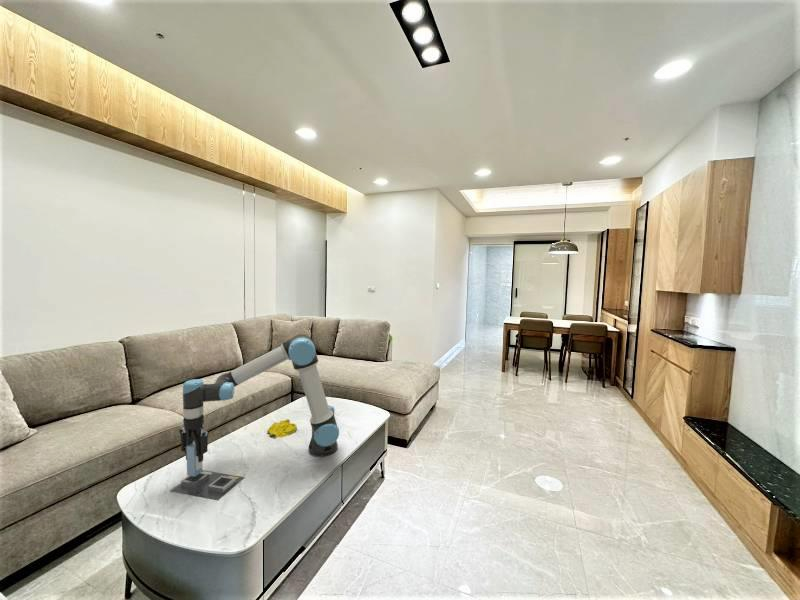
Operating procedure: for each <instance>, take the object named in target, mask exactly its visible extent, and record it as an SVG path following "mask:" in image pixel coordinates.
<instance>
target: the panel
mask: <svg viewBox="0 0 800 600" xmlns="http://www.w3.org/2000/svg"><path fill="white" fill-rule="evenodd" d="M245 478H246V477H245V476H241V475H240V476H239V475H232V474H229V473H228V474H227V473H223V472H217V471H216V472H215V471H209V470H204V469H202V472H201V473H199V474H198V475H197V476H195V477H193V476H188V475H187V476H186V477H185V478H182V479H181V480H180V484H178V485H176V486H175V487H173V488H172V489H170V492H171V493H177V494H182V495H187V496H191V497H192V496H193V497H198V498H203V499H208V500H212V501H219V500H220V499H222V498H223V497H224V496H225V495H226V494H228V493H229V492H230V491H231V490H232V489H233V488H234V487H236V486H237V485H238V484H239V483H241V481H244V479H245Z"/></svg>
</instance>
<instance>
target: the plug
mask: <svg viewBox="0 0 800 600" xmlns="http://www.w3.org/2000/svg"><path fill="white" fill-rule="evenodd" d="M186 448H187V460H186V474H187V476H193V477H195V476H197V475H198V474H199V473H201V472H202V470H203V467H202V468H200V469H199V470H196V455H197V450H196V445H195V441H193V443H192V444H190V445H188V446H186Z"/></svg>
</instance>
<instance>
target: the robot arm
mask: <svg viewBox="0 0 800 600" xmlns="http://www.w3.org/2000/svg"><path fill="white" fill-rule="evenodd" d="M318 358H319V357H318V355H317V351H316V346H315V344H314V341H313V339H312V338H311V337H310V336H309V335H307V334H296V335H294V336H293V337H291V338H289V339H287V340H285V341H284V342H282V343H281V344H280V345H279V346H278V347H276V348H274V349H272V350H271V351H268V352H266V353H265V354H262V355H261V356H258V357H256V358H255V359H253V360H250V361H249V362H247V363H244V364H242V365H241V366H238V367H236V368H234V369H233V370H231V371H228V372H224V373H221V374H220V375H219V376H218V377H217V378H216V380H215V382H214V383H205V382H204V381H203V380H202V379H197V378H196V379H195V378H194V379H189V380H187V381H185V382H184V383H182V385H183V386H182V407H183V409H182V415H183V423H182V424H183V427H182V428H180V429H179V430H178V431H179V435H180V451H181V452H183V453H184V454H185V460H186V461H187V448H186V446H188V445H190V444H192V443H193V442H195V445H196V450H197V455H196V470H199V469H200V468H202V469H203V461H204V454H205V453H207V452H208V448H209V447H208V441H209V440H208V439H209V437H208V435H209V433H210V430H205V429H204V423H205V420H204V419H205V415H204V412H205V410H204V403H206V402H217V401H218V402H219V401H222V402H223V401H228V400H232V399H233V398H234V396H235V387H236V386H239V385H241V384H243V383H244V382H247V381H248V380H250V379H253V378H254V377H256V376H257V375H260V374H263V373H264V372H266V371H267V370H270V369H272V368H274V367H276V366H278V365H280V364H281V363H283V362H285V361H287V360H289V361H291V363H292V366H293V369H294V371H297V372H298V374H299V378H300V381H301V384H302V388H303V391H304V395H305V398H306V402H307V404H308V407H309V411H310V414H311V417H310V419H309V423H310V426H311V438H310V441H309V444H308V453H309V454H310V455H312V456H314V457H326V456H330V455H333V454H334V453H335V452H337V450H338V448H339V447H338V441H337V440H338V439H339V436H340V429H339V427H338V423H337V420H336V416H335V407H334V406H332V405H329V404H328V401H327V397H326V395H325V390H324V386H323V384H322V380H321V377H320V376H321V375H320V374H319V371H318V366H317V364H318V363H319V359H318Z"/></svg>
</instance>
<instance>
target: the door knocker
mask: <svg viewBox="0 0 800 600" xmlns="http://www.w3.org/2000/svg"><path fill="white" fill-rule="evenodd" d="M296 430H297V424H296V423H291V421H290V419H284V420H280V421H279V422H276V421H275V422H273V424H272V425H270V426H269V428H268V429H267V430H266V431H267V432H266V433H267V434H269V437H270V436H271V437H272V436H273V435H274V439H275V438H276V439H277V438H284V437H287V436H289V435H292V434H295V432H296Z"/></svg>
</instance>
